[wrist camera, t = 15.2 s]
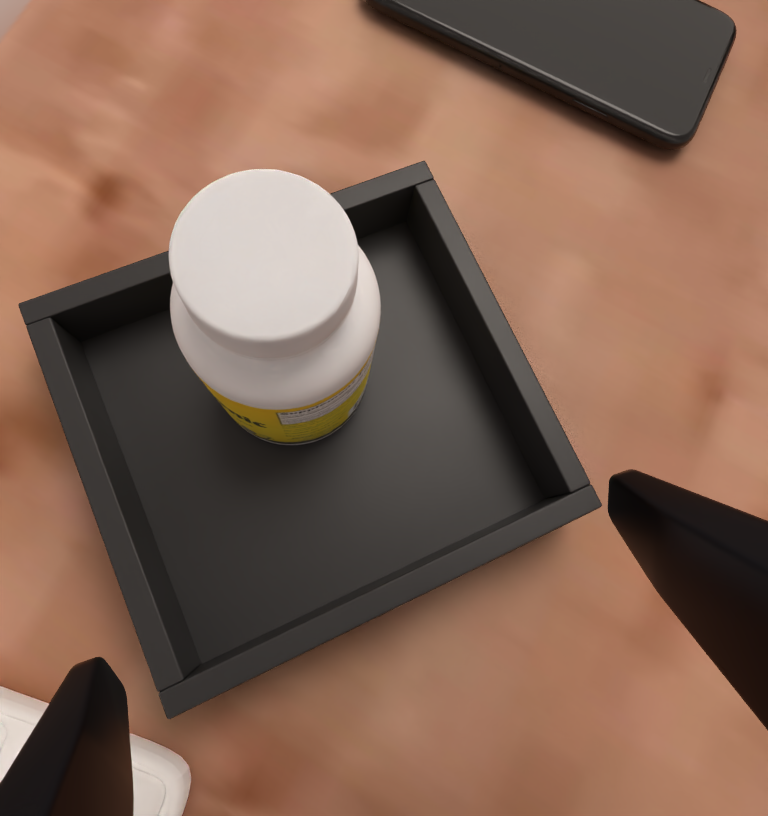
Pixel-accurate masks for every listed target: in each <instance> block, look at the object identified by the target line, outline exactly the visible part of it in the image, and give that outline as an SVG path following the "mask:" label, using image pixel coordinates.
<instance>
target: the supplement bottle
mask: <svg viewBox="0 0 768 816" xmlns="http://www.w3.org/2000/svg"><path fill="white" fill-rule="evenodd" d="M169 267H170V273H171V277H172V281H173V285H172V290H171V296H170V314H171V322H172V327H173V332H174V335H175V338H176V340H177V343H178V346H179V348H180V350H181V352H182V353H183V355H184V357H185V359H186V361H187V362H188V364H189V365H190V367H191V368H192V369H193V371H194V372H195V373H196V374H197V376H198V377H199V378H200V379H201V381H202V382H203V383H204V384H205V386H206V387H207V388H208V389H209V391H210V392H211V393H212V394H213V396H214V397H215V398H216V399H217V401H218V402H219V403H220V404H221V405H222V406H223V408H224V409H225V410H226V411H227V412H228V414H229V415H230V416H231V417H232V418H233V419H234V421H236V422H237V423H238V424H239V425H240V426H241V427H242V428H243V429H245V430H246V431H247V432H249V433H250V434H252V435H254V436H256V437H258V438H260V439H262V440H265V441H268V442H271V443H276V444H281V445H300V444H306V443H311V442H314V441H317V440H320V439H322V438H325V437H327V436H329V435H330V434H332V433H333V432H335V431H336V430H338V429H339V428H341V427H342V426H343V425H344V424H345V423H346V422H347V421H348V420H349V419H350V418H351V416H352V415H353V414H354V412H355V411H356V409H357V408H358V406H359V404H360V402H361V400H362V397H363V395H364V392H365V388H366V385H367V380H368V375H369V372H370V367H371V362H372V358H373V354H374V348H375V344H376V339H377V335H378V331H379V325H380V315H381V302H380V293H379V288H378V283H377V280H376V276H375V273H374V271H373V268H372V266H371V264H370V262H369V260H368V259H367V257H366V255H365V254H364V252H363V251H362V249H361V248H360V247H359V246H358V243H357V239H356V235H355V231H354V229H353V227H352V224H351V222H350V220H349V218H348V216H347V214H346V213H345V211H344V210H343V208H342V207H341V206H340V204H339V203H338V202H337V201H336V200H335V199H334V198H333V197H332V196H331V195H330V194H329V193H328V192H327V191H325V190H324V189H323V188H321V187H320V186H319V185H317V184H315V183H313V182H312V181H310V180H308V179H306V178H304V177H301V176H299V175H296V174H293V173H289V172H285V171H281V170H273V169H253V170H246V171H241V172H236V173H233V174H229V175H227V176H225V177H223V178H220V179H218V180H216V181H214V182H212V183H210V184H209V185H208V186H206V187H205V188H203V189H202V190H201V191H199V192H198V193H197V194H196V195H195V196H194V197H193V198H192V199H191V200H190V201H189V202H188V204H187V205H186V206H185V208H184V209H183V210H182V212H181V213H180V215H179V217H178V219H177V221H176V223H175V226H174V228H173V231H172V235H171V238H170V244H169Z"/></svg>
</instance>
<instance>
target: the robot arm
mask: <svg viewBox="0 0 768 816" xmlns="http://www.w3.org/2000/svg"><path fill="white" fill-rule="evenodd" d="M608 513H609V516H610V518H611V521H612V522H613V524H614V526H615V527H616V529H617V530H618V532H619V533H620V535H621V536H622V538H623V540H624V541H625V543H626V544H627V546H628V547H629V549H630V551H631V552H632V554H633V555H634V557H635V558H636V560H637V561H638V563H639V565H640V566H641V568H642V569H643V571H644V572H645V574H646V576H647V577H648V579H649V580H650V582H651V583H652V585H653V586H654V588H655V589H656V591H657V592H658V593H659V595H660V596H661V597H662V598H663V600H664V601H665V602H666V604H667V605H668V606H669V607H670V609H671V610H672V611H673V612H674V614H675V615H676V616H677V617H678V619H679V620H680V621H681V622H682V624H683V625H684V626H685V627H686V629H687V630H688V631H689V632H690V634H691V635H692V636H693V637H694V639H695V640H696V641H697V642H698V644H699V645H700V646H701V647H702V649H703V650H704V651H705V652H706V654H707V655H708V656H709V657H710V659H711V660H712V661H713V662H714V664H715V665H716V666H717V667H718V669H719V670H720V671H721V672H722V674H723V675H724V676H725V677H726V679H727V680H728V681H729V682H730V684H731V685H732V686H733V687H734V689H735V690H736V691H737V692H738V694H739V695H740V696H741V697H742V699H743V700H744V701H745V702H746V704H747V705H748V706H749V707H750V709H751V710H752V711H753V712H754V714H755V715H756V716H757V717H758V719H759V720H760V721H761V722H762V724H763V725H764V726H765V727H766V729H767V730H768V521H767V520H764V519H761V518H759V517H756V516H754V515H751V514H748V513H746V512H743V511H741V510H738V509H735V508H733V507H730V506H728V505H725V504H722V503H720V502H717V501H715V500H712V499H710V498H707V497H704V496H702V495H699V494H697V493H694V492H691V491H689V490H686V489H684V488H681V487H678V486H676V485H673V484H671V483H668V482H665V481H663V480H660V479H658V478H655V477H652V476H650V475H647V474H645V473H642V472H640V471H637V470H632V469H631V470H626V471H623V472H621V473H618V474H615V475H613V476H612V477H611V478H610V480H609V494H608ZM133 813H134V790H133V773H132V760H131V747H130V733H129V720H128V707H127V696H126V692H125V689H124V686H123V684H122V683H121V681H120V680H119V679H118V677H117V676H116V674H115V673H114V672H113V670H112V669H111V667H110V666H109V665H108V663H107V662H106V661H105V660H104V659H103V658H101V657H95V658H93V659H90V660H87V661H84V662H81V663H78V664H76V665H75V666H73V668H72V669H71V670H70V671H69V673H68V674H67V676H66V677H65V679H64V681H63V682H62V684H61V686H60V687H59V689H58V690H57V692H56V694H55V695H54V697H53V698H52V700H51V702H50V703H49V705H48V707H47V708H46V710H45V711H44V713H43V715H42V716H41V718H40V719H39V721H38V723H37V724H36V726H35V728H34V729H33V731H32V732H31V734H30V736H29V737H28V739H27V741H26V742H25V744H24V745H23V747H22V749H21V750H20V752H19V753H18V755H17V757H16V758H15V760H14V762H13V763H12V765H11V766H10V768H9V770H8V771H7V773H6V774H5V776H4V778H3V779H2V781H1V783H0V816H133Z"/></svg>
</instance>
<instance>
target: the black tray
mask: <svg viewBox="0 0 768 816" xmlns="http://www.w3.org/2000/svg"><path fill="white" fill-rule="evenodd" d="M330 195H331V196H332V197H333V198H334V199H335V200H336V201H337V202H338V203H339V204H340V206H341V207H342V208H343V210H344V211H345V213H346V214H347V216H348V218H349V220H350V222H351V224H352V227H353V229H354V231H355V235H356V239H357V243H358V246H359V247H360V248H361V249H362V251H363V252H364V254H365V255H366V257H367V259H368V260H369V262H370V264H371V266H372V268H373V271H374V273H375V276H376V280H377V283H378V288H379V293H380V302H381V315H380V325H379V331H378V335H377V339H376V344H375V348H374V354H373V358H372V362H371V367H370V372H369V375H368V380H367V385H366V388H365V392H364V395H363V397H362V400H361V402H360V404H359V406H358V408H357V409H356V411H355V412H354V414H353V415H352V416H351V418H350V419H349V420H348V421H347V422H346V423H345V424H344V425H343V426H342V427H341V428H339V429H338V430H336V431H335V432H333V433H332V434H330V435H329V436H327V437H325V438H322V439H320V440H317V441H314V442H311V443H306V444H300V445H281V444H276V443H271V442H268V441H265V440H262V439H260V438H258V437H256V436H254V435H252V434H250V433H249V432H247V431H246V430H245V429H243V428H242V427H241V426H240V425H239V424H238V423H237V422H236V421H234V419H233V418H232V417H231V416H230V415H229V414H228V412H227V411H226V410H225V409H224V408H223V406H222V405H221V404H220V403H219V402H218V401H217V399H216V398H215V397H214V396H213V394H212V393H211V392H210V391H209V389H208V388H207V387H206V386H205V384H204V383H203V382H202V381H201V379H200V378H199V377H198V376H197V374H196V373H195V372H194V371H193V369H192V368H191V367H190V365H189V364H188V362H187V361H186V359H185V357H184V355H183V353H182V352H181V350H180V348H179V346H178V343H177V340H176V338H175V335H174V332H173V327H172V322H171V314H170V296H171V290H172V285H173V281H172V277H171V273H170V267H169V251H167V252H164V253H161V254H158V255H155V256H152V257H150V258H147V259H144V260H141V261H138V262H135V263H133V264H130V265H127V266H124V267H121V268H118V269H116V270H113V271H110V272H107V273H104V274H101V275H99V276H96V277H93V278H90V279H87V280H84V281H82V282H79V283H76V284H73V285H70V286H67V287H65V288H62V289H59V290H56V291H53V292H50V293H48V294H45V295H42V296H39V297H36V298H33V299H30V300H28V301H25V302H22V303H19V308H20V311H21V314H22V317H23V319H24V322H25V324H26V325H27V326H26V327H27V330H28V333H29V336H30V339H31V341H32V344H33V347H34V350H35V353H36V355H37V358H38V361H39V364H40V366H41V369H42V372H43V375H44V378H45V380H46V383H47V386H48V389H49V391H50V394H51V397H52V400H53V403H54V405H55V408H56V411H57V414H58V416H59V419H60V422H61V425H62V428H63V430H64V433H65V436H66V439H67V441H68V444H69V447H70V450H71V453H72V455H73V458H74V461H75V464H76V466H77V469H78V472H79V475H80V478H81V480H82V483H83V486H84V489H85V491H86V494H87V497H88V500H89V503H90V505H91V508H92V511H93V514H94V516H95V519H96V522H97V525H98V528H99V530H100V533H101V536H102V539H103V541H104V544H105V547H106V550H107V553H108V555H109V558H110V561H111V564H112V566H113V569H114V572H115V575H116V577H117V580H118V583H119V586H120V589H121V591H122V594H123V597H124V600H125V602H126V605H127V608H128V611H129V614H130V616H131V619H132V622H133V625H134V627H135V630H136V633H137V636H138V639H139V641H140V644H141V647H142V650H143V652H144V655H145V658H146V661H147V664H148V666H149V669H150V672H151V675H152V677H153V680H154V683H155V686H156V689H157V691H158V692H159V697H160V699H161V702H162V705H163V708H164V711H165V713H166V716H167V718H168V719H171V718H173V717H175V716H177V715H179V714H181V713H183V712H185V711H187V710H189V709H191V708H193V707H195V706H197V705H200V704H202V703H204V702H206V701H208V700H210V699H212V698H214V697H216V696H218V695H220V694H222V693H224V692H226V691H228V690H230V689H232V688H234V687H236V686H238V685H240V684H242V683H244V682H246V681H248V680H250V679H252V678H254V677H256V676H258V675H261V674H263V673H265V672H267V671H269V670H271V669H273V668H275V667H277V666H279V665H281V664H283V663H285V662H287V661H289V660H291V659H293V658H295V657H297V656H299V655H301V654H303V653H305V652H307V651H309V650H311V649H313V648H315V647H317V646H319V645H322V644H324V643H326V642H328V641H330V640H332V639H334V638H336V637H338V636H340V635H342V634H344V633H346V632H348V631H350V630H352V629H354V628H356V627H358V626H360V625H362V624H364V623H366V622H368V621H370V620H372V619H374V618H376V617H378V616H380V615H383V614H385V613H387V612H389V611H391V610H393V609H395V608H397V607H399V606H401V605H403V604H405V603H407V602H409V601H411V600H413V599H415V598H417V597H419V596H421V595H423V594H425V593H427V592H429V591H431V590H433V589H435V588H437V587H439V586H441V585H444V584H446V583H448V582H450V581H452V580H454V579H456V578H458V577H460V576H462V575H464V574H466V573H468V572H470V571H472V570H474V569H476V568H478V567H480V566H482V565H484V564H486V563H488V562H490V561H492V560H494V559H496V558H498V557H500V556H502V555H505V554H507V553H509V552H511V551H513V550H515V549H517V548H519V547H521V546H523V545H525V544H527V543H529V542H531V541H533V540H535V539H537V538H539V537H541V536H543V535H545V534H547V533H549V532H551V531H553V530H555V529H557V528H559V527H561V526H563V525H566V524H568V523H570V522H572V521H574V520H576V519H578V518H580V517H582V516H584V515H586V514H588V513H590V512H592V511H594V510H596V509H598V508H600V507H601V506H602V504H601V502H600V500H599V498H598V496H597V494H596V492H595V490H594V488H593V486H592V485H589V484H590V481H589V479H588V477H587V475H586V473H585V471H584V469H583V467H582V465H581V463H580V461H579V459H578V457H577V455H576V453H575V452H574V450H573V448H572V446H571V444H570V442H569V440H568V438H567V436H566V434H565V432H564V430H563V428H562V426H561V424H560V422H559V420H558V419H557V417H556V415H555V413H554V411H553V409H552V407H551V405H550V403H549V401H548V399H547V397H546V395H545V393H544V391H543V389H542V387H541V386H540V384H539V382H538V380H537V378H536V376H535V374H534V372H533V370H532V368H531V366H530V364H529V362H528V360H527V358H526V356H525V354H524V353H523V351H522V349H521V347H520V345H519V343H518V341H517V339H516V337H515V335H514V333H513V331H512V329H511V327H510V325H509V323H508V321H507V319H506V318H505V316H504V314H503V312H502V310H501V308H500V306H499V304H498V302H497V300H496V298H495V296H494V294H493V292H492V290H491V288H490V286H489V285H488V283H487V281H486V279H485V277H484V275H483V273H482V271H481V269H480V267H479V265H478V263H477V261H476V259H475V257H474V255H473V253H472V252H471V250H470V248H469V246H468V244H467V242H466V240H465V238H464V236H463V234H462V232H461V230H460V228H459V226H458V224H457V222H456V220H455V219H454V217H453V215H452V213H451V211H450V209H449V207H448V205H447V203H446V201H445V199H444V197H443V195H442V193H441V191H440V189H439V187H438V186H437V184H436V182H435V180H434V177H433V175H432V174H431V172H430V170H429V168H428V166H427V164H426V162H425V161H422V162H419V163H416V164H413V165H410V166H407V167H405V168H402V169H399V170H396V171H393V172H390V173H388V174H385V175H382V176H379V177H376V178H373V179H371V180H368V181H365V182H362V183H359V184H356V185H354V186H351V187H348V188H345V189H342V190H339V191H337V192H334V193H331V194H330Z"/></svg>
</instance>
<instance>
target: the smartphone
mask: <svg viewBox="0 0 768 816" xmlns="http://www.w3.org/2000/svg"><path fill="white" fill-rule="evenodd" d="M365 1H366V2H367V3H368V4H369V5H370V6H371V7H372V8H374V9H376V10H377V11H379V12H381V13H383V14H385V15H387V16H389V17H392V18H394V19H396V20H398V21H400V22H402V23H404V24H406V25H408V26H410V27H412V28H414V29H416V30H418V31H421V32H423V33H425V34H427V35H429V36H431V37H433V38H435V39H437V40H439V41H441V42H443V43H445V44H447V45H449V46H451V47H454V48H456V49H458V50H460V51H462V52H464V53H466V54H468V55H470V56H472V57H474V58H476V59H478V60H480V61H483V62H485V63H487V64H489V65H491V66H493V67H495V68H497V69H499V70H501V71H503V72H505V73H507V74H509V75H511V76H514V77H516V78H518V79H520V80H522V81H524V82H526V83H528V84H530V85H532V86H534V87H536V88H538V89H540V90H542V91H545V92H547V93H549V94H551V95H553V96H555V97H557V98H559V99H561V100H563V101H565V102H567V103H569V104H571V105H573V106H576V107H578V108H580V109H582V110H584V111H586V112H588V113H590V114H592V115H594V116H596V117H598V118H600V119H602V120H604V121H607V122H609V123H611V124H613V125H615V126H617V127H619V128H621V129H623V130H625V131H627V132H629V133H631V134H633V135H635V136H638V137H640V138H642V139H644V140H646V141H648V142H650V143H652V144H654V145H656V146H659V147H661V148H664V149H669V150H675V149H680V148H682V147H684V146H685V145H687V144H688V143H689V142H690V141H691V140H692V138H693V137H694V135H695V133H696V131H697V129H698V126H699V124H700V122H701V119H702V117H703V115H704V112H705V110H706V108H707V105H708V103H709V101H710V98H711V96H712V94H713V91H714V89H715V87H716V84H717V82H718V80H719V77H720V75H721V72H722V70H723V68H724V65H725V63H726V61H727V58H728V56H729V53H730V51H731V48H732V46H733V44H734V41H735V38H736V26H735V23H734V21H733V20H732V19H731V18H730V17H729V16H728V15H727V14H725V13H724V12H722V11H720V10H718V9H716V8H714V7H712V6H710V5H708V4H706V3H704V2H701V1H699V0H365Z"/></svg>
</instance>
